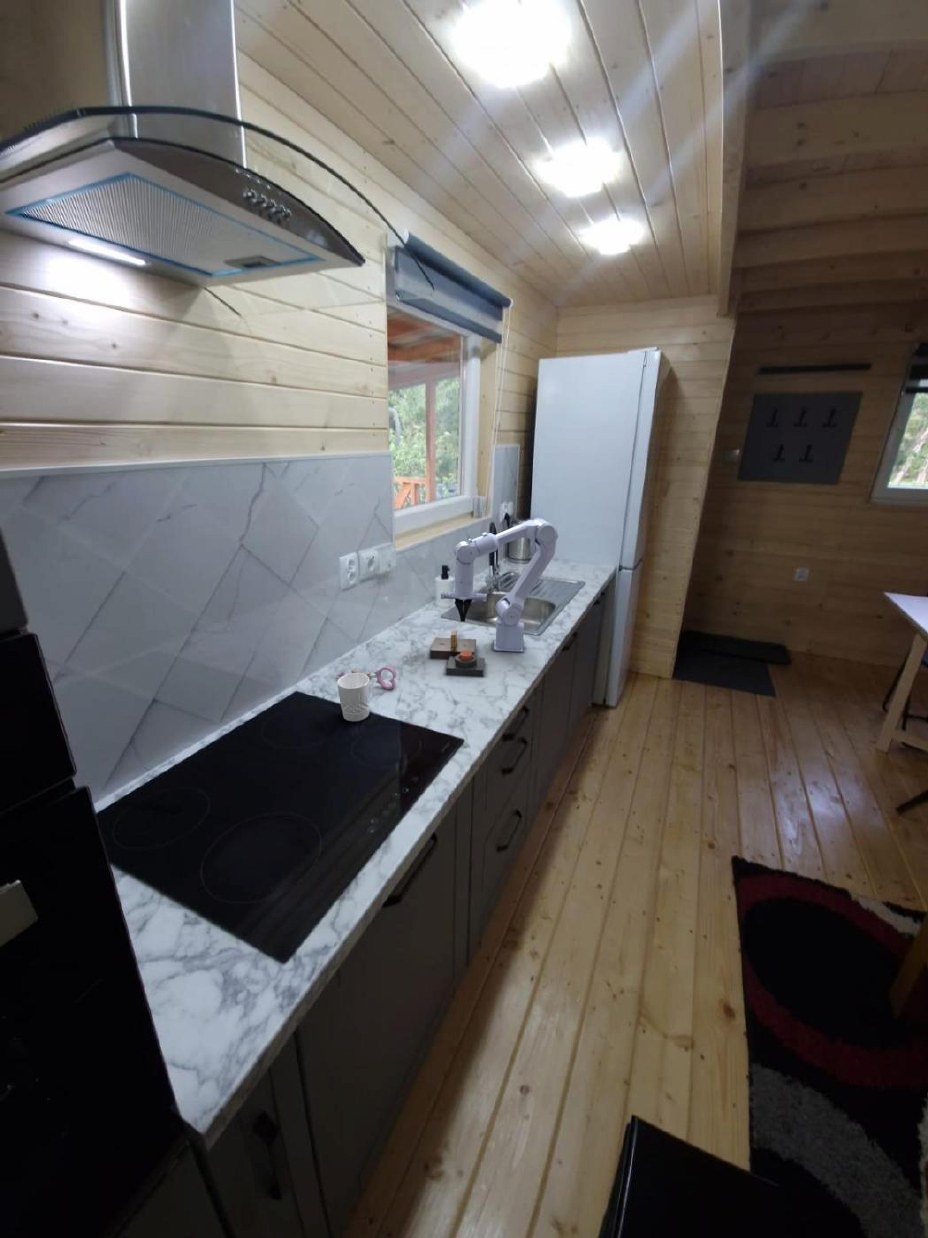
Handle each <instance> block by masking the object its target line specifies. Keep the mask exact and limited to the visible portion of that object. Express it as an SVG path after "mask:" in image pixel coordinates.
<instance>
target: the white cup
mask: <svg viewBox="0 0 928 1238" xmlns="http://www.w3.org/2000/svg"><path fill="white" fill-rule="evenodd" d="M361 673H362V672H360V673H352V672H351V673H346V674H347V675H344V676H342V677H339V678H338V679H337V680H336V681H337V682H336V683H337V690H338V691H337V692H338V698H339V703H340V708H341V712H342V717H343V719H344V720H346V721H349V722H360V721H363V720H365V719H367V718H368V717H369V715H370V704H371V702H370V701H371V700H370V699H371V697H370V696H371V695H370V694H371V693H370V692H371V689H370V680H369V677H368V676H367V675H365V674H361Z"/></svg>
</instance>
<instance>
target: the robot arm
mask: <svg viewBox="0 0 928 1238" xmlns="http://www.w3.org/2000/svg"><path fill="white" fill-rule="evenodd" d="M523 538H525V539H528V540H533V541H534V544H535V548H536V549H535V550H536V552H535V553H534V555H533V556H532V558H531V560H530V561H529V562H528V564H527V566H526V567H525V569H524V570H523V572H522V573H521V575H520V577H519V578H518V579H517V581H516V583H515V585H514V586H513V587H512V589H511V591H509V592H507V593H506V594H505V595H504V596H503V598H501V599H500V600H498V601H497V602H496V604H495V607H494V610H495V613H496V614H497V618H496V622H495V639H494V641H493V642H494V643H493V651H498V652H499V651H500V652H518V653H522V652H523V649H524V644H525V638H524V633H525V623H524V622H523V621H520V620H521V617H522V613H523V611H524V609H525V601H526V599H527V597H528V596H529V595H530V593H531V591H532V590H533V588H534V587H535V585H536V584H537V582H538V581H539V579H540V577H541V576H542V575H543V573H544V571H545V570H546V568H547V567H548V566H549V564H550V562H551V561H552V560H553V558H554V556H555V554H556V546H557V540H558V539H559V534H558V530H557V528H556V526H555V525H554V524H553V523H550V522H548V521H547V520H545V519H544V518H542V517H535V518H533V519H529V520H526V521H524V522H522V523H520V524H517V525H515V526H512V527H511V528H508V529H506V530H503V531H502V532H499V533H497V534H493V533H492V532H489V533H487V532H482V535H481V536H478V537H475V538H469V539H467V541H460V542H459V543H457V544H456V545H455V547H454V549H453V553H454V556H455V557H456V558H455V567H454V569H455V571H454V590H451V591H441V592H440V600H454V605H455V607H456V609H457V611H458V615H459V620H460V622H461V623H462V622H463V623H465V622H466V618H467V615H468V611H469V609H470V607H471V606H472V603H473V601H480V602H484V603H486V602H487V595H488V594H487V593H480V592H475V591H474V570H475V567H474V562H475V561H476V558H480V557H483V556H485V555H488V554H490V553H493V552H496V551H497V550H498V548H499V547H500V546H501V545H504V544H507V543H511V542H513V541H516V540H520V539H523Z"/></svg>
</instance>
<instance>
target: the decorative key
mask: <svg viewBox="0 0 928 1238" xmlns="http://www.w3.org/2000/svg"><path fill="white" fill-rule="evenodd" d="M383 671H389V672H390V673H391V674H392V678H389V679H388V682H390V683H391V685H390V684H387V683H386V682H385V681H384V679H383V678H382V672H383ZM351 673H361V674H365V675H367V676H368V677H369V681H371V680H372V679H373V678H376V681H375V683H376V684H379V685H380V686H381V687H383V688H384V689H385V690H392V689H394V688H395V687H396V684H397V682H396V680H395V679H396V677H397V671H396V669H394V668H393V667H392V666H390V665H385V666H383V667H381V668H380V669H377V670H374V672H373V674H372V673H371V672H366V673H362V672H360V671H357V670H356V669H354V668H352V670H351ZM347 674H348V673H346V672H345V670H343V671H342V672H341V673H339V674H335V676H337V677H339V678H340V677H342V676H344V675H347Z"/></svg>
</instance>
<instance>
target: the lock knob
mask: <svg viewBox="0 0 928 1238" xmlns="http://www.w3.org/2000/svg"><path fill="white" fill-rule="evenodd" d="M450 633H451V634H450V638H451V647H456V643H457V638H458V630H453V629H452V630H451V632H450Z"/></svg>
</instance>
